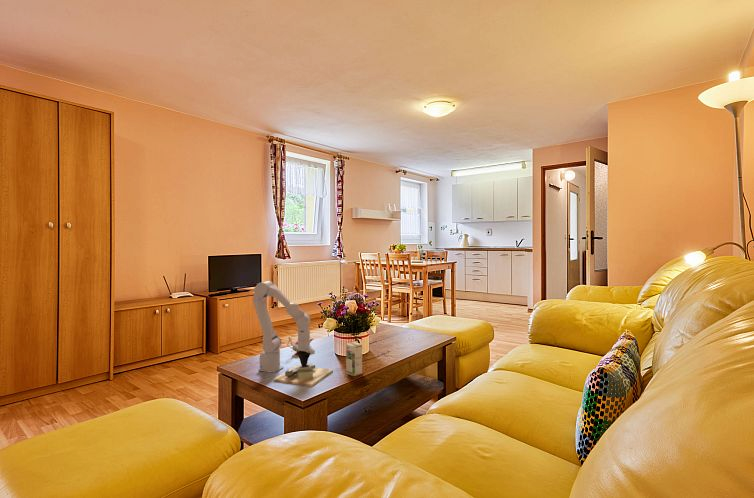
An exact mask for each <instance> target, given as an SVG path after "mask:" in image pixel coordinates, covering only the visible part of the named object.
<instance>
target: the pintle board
mask: <svg viewBox="0 0 754 498" xmlns="http://www.w3.org/2000/svg"><path fill="white" fill-rule="evenodd" d="M299 367H302V365H295V366H294V367H292V368H290V369H291V370H293V369H296V368H299ZM333 371H334V370H333V369H331V368H330V369H329V368H321V367H315V368H313V378H306V379H298V374H296V375H294V376H291V377H287V376H285V372H283V373H281V374H280V375H278V376H276V377H274V378H273V379H272V380H273V382H277V383H284V384H290V385H292V384H293V385H297V386H298V385H299V386H303V387H304V386H305V387H314V386H315V385H316V384H317V383H319V382H320V381H322V380H323V379H324V378H326V377H327V376H329V375H331V373H333Z"/></svg>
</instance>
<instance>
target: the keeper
mask: <svg viewBox="0 0 754 498" xmlns="http://www.w3.org/2000/svg"><path fill="white" fill-rule="evenodd" d="M297 371H298V379H306V378H313V369H312V367H304V368H297Z"/></svg>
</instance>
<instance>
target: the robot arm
mask: <svg viewBox="0 0 754 498" xmlns="http://www.w3.org/2000/svg"><path fill="white" fill-rule="evenodd" d="M253 291H254V294H253V298H252V303H253V306H254V309H255V311H256V315H257V318H258V321H259V325H260V328H261V332H262V334H263V335H262V339H261V341H262V350H263V351H261V352H260V354H259V369H258V371H261V372H267V373H272V374H273V373H276V372H278V371H280V370H281V369H284V366H282V365H281V357H280V355H281V351H280V347H281V345H282V339H281V337H279V336H278V333H277V331H275V329H274V326H273V322H272V320H271V317H270V314H269V310H268V307H267V304H266V300H267V298H268V297H273V298H275V300H277V301H278V302H279V303H280V304H282V305H283V306H284V307H285V311H286V313H288V315H289V316H290V317H291V318H292V319H293V320H295V325H296V326H297V341H298V345H295V344H293V345H294V349H297V350H299V352H297V355H298V356H297V355H296V356H297V357H298V358H299V361H300V364H301V365H300V366H305V365H308V361H309V358H310V356H311V355H312V356H313V355H315V353H316V349H314V348H312V345H311V342H310V339H311V336H310V331H311V330H310V329H311V328H310V323H311V321H312V317H311V315H310V314H309V313H307V312H306V311H305V310H302V309H301V307H300V306H299V303H295V302H291V301H290V300H289V298H287V297H286V295H285V294H284V293H283V292H282V291H281V290H280V289H279V287H278V286H277V285H276V284H274V282H273V281H271V280H266V281H263V282H259V283H257V284H256V285H255V287H254V288H253Z"/></svg>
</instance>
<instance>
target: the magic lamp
mask: <svg viewBox="0 0 754 498" xmlns="http://www.w3.org/2000/svg"><path fill="white" fill-rule="evenodd" d="M313 340H314V338H310V343H311V342H312V341H313ZM289 342H290V344H291V346H289ZM286 345H287V347H288V348H290V349H292V350H291V353H292V352H295V353H294V354H293V355H294V356H297V357H299V356H298V355H297V352H299V350H297V349H294V345H298V340H297V341H296V342H295V344H293V341H292V337H289V336H288V342H287V344H286Z"/></svg>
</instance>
